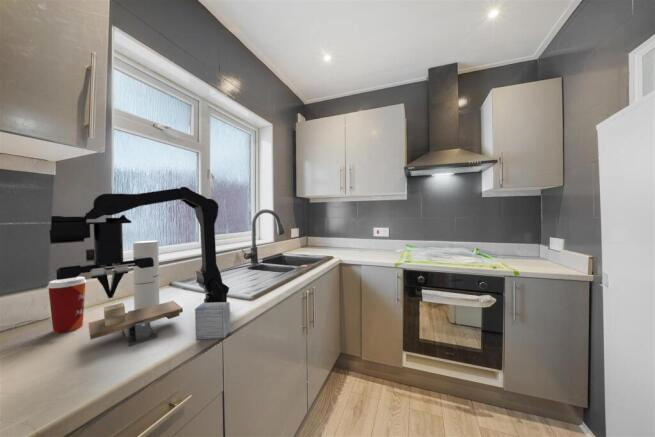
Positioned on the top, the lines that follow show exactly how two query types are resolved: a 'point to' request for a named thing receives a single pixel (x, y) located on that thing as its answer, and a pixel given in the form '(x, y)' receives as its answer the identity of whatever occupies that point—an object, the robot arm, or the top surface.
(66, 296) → the coffee cup
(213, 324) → the medicine box
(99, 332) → the beam
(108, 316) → the maple block
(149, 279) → the cylindrical container
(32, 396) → the top surface
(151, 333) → the beam stand
